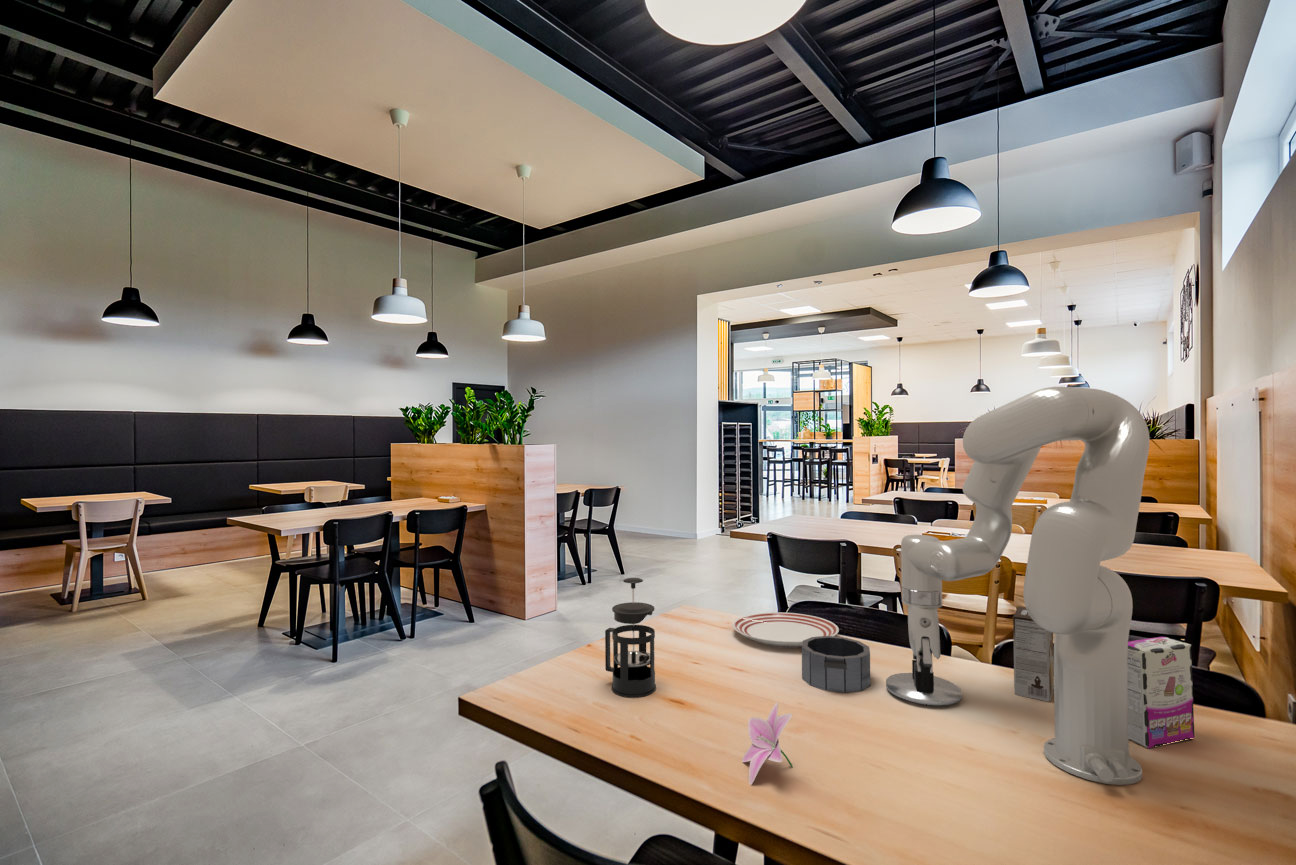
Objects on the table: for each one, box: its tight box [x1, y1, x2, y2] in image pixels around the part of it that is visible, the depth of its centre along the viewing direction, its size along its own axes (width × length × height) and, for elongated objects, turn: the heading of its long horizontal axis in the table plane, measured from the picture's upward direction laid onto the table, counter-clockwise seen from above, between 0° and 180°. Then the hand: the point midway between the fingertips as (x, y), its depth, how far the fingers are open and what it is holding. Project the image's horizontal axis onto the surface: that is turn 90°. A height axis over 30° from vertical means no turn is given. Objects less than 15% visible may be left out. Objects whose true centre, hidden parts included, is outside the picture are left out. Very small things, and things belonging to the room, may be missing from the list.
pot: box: [801, 635, 871, 694], centre depth 131 cm, size 17×14×7 cm
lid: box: [885, 662, 963, 706], centre depth 123 cm, size 14×14×6 cm
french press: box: [604, 577, 657, 699], centre depth 127 cm, size 12×9×23 cm
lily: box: [741, 701, 794, 786], centre depth 95 cm, size 12×12×10 cm
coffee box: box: [1012, 606, 1054, 703], centre depth 124 cm, size 9×6×16 cm
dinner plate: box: [732, 611, 840, 649], centre depth 159 cm, size 27×27×3 cm
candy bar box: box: [1127, 636, 1196, 749], centre depth 104 cm, size 11×5×16 cm, turn 105°
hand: (922, 684), depth 123 cm, fingers open, 5 cm apart
